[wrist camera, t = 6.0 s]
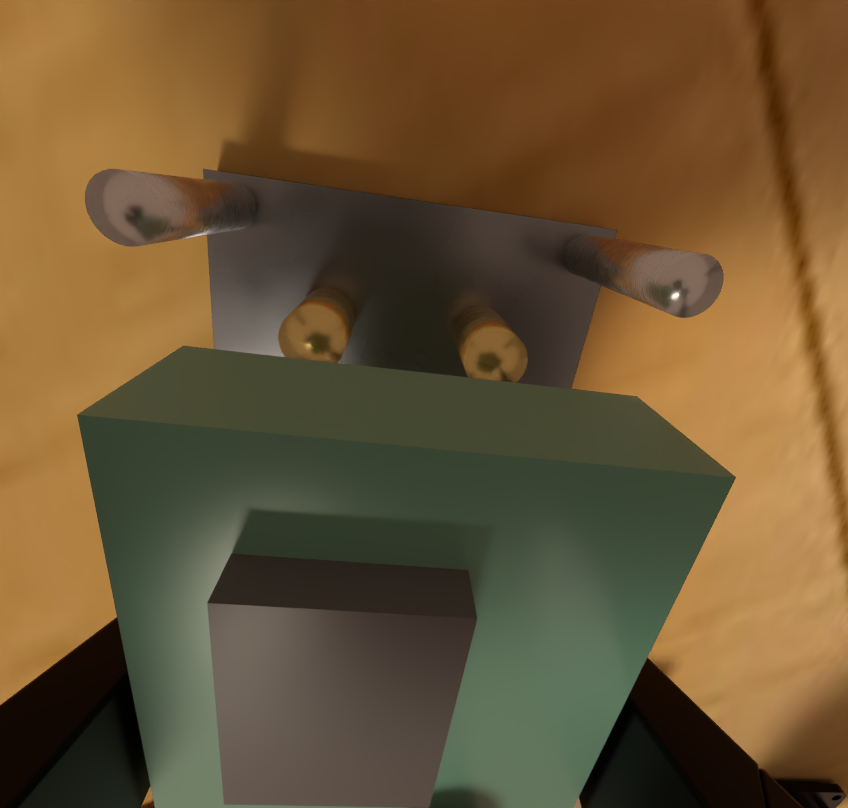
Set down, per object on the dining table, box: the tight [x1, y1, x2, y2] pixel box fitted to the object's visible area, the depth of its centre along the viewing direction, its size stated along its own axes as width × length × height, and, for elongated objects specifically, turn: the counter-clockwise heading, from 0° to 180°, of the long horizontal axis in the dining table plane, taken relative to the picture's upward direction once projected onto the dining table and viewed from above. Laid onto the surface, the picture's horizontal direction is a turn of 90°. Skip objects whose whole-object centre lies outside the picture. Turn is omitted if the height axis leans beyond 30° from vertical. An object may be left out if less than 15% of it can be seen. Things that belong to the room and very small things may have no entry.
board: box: [77, 346, 736, 808], centre depth 6 cm, size 6×9×3 cm, turn 172°
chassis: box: [85, 169, 723, 389], centre depth 12 cm, size 10×13×6 cm
